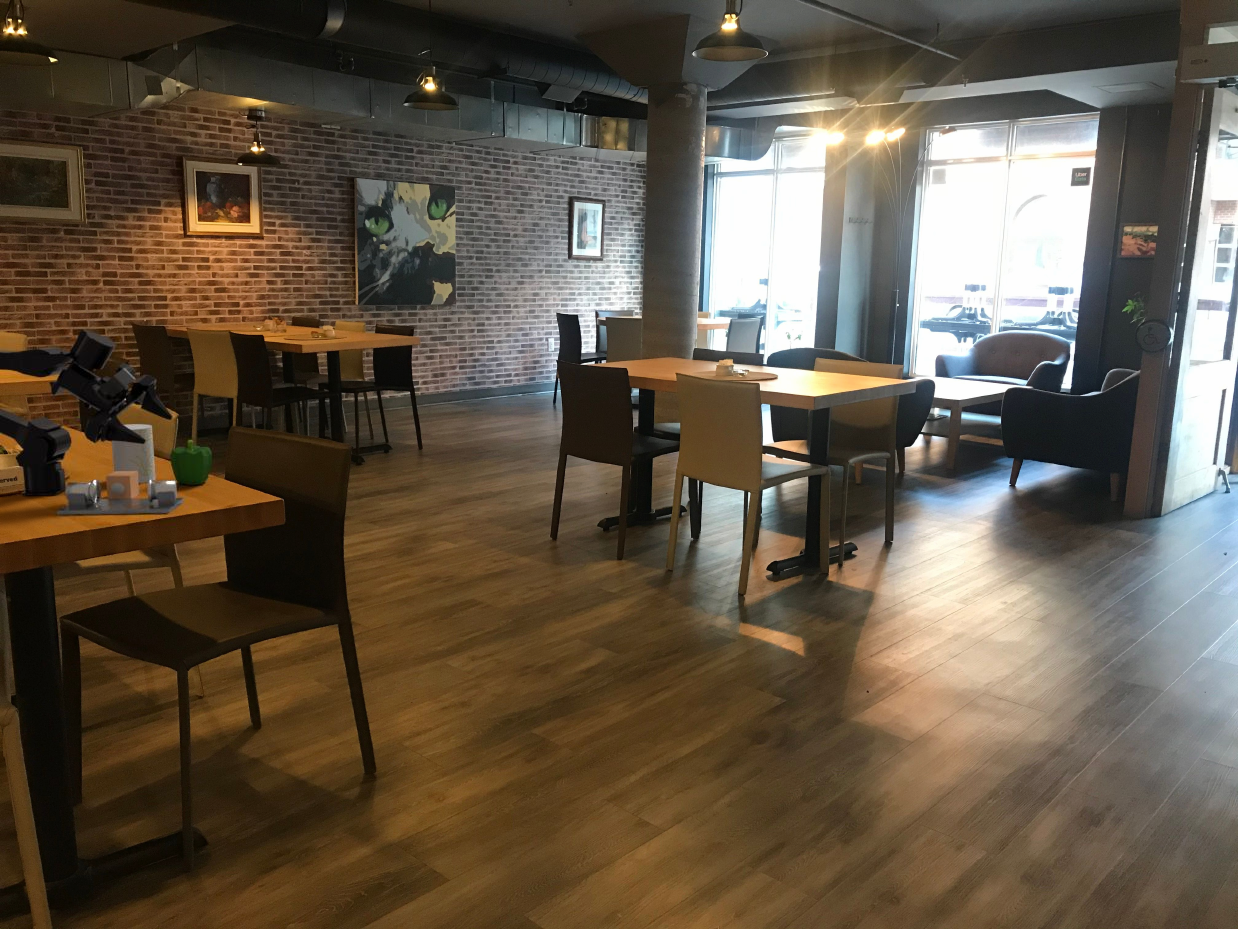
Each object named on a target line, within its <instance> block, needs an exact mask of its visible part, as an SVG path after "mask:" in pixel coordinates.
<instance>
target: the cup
mask: <svg viewBox="0 0 1238 929" xmlns="http://www.w3.org/2000/svg"><path fill="white" fill-rule="evenodd" d="M123 425H124V426H126V427H127V428H129V429H131V430H132V431H134V432H135V433H137V434H139V435H140V436H141V437H143V438H144V439H145V440H146V442H145V443H144V444H138V443H131V442H123V441H111V450H112V464H113V466H112V467H113V472H114V471H138V482H139V483H140V484H146V483H145V482H147V483H148V479H152V481H153V480H154V481H156V470H155V469H156V468H155V467H156V466H155V451H154V440H153V436H154V435H153V426H152V425H151V424H143V423H142V424H141V423H138V424H137V423H134V424H133V423H132V424H129V423H128V424H123Z"/></svg>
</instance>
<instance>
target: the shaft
mask: <svg viewBox="0 0 1238 929" xmlns="http://www.w3.org/2000/svg"><path fill="white" fill-rule="evenodd" d="M146 484H147V488H146V489H147V498H148V500H149V502H153V500H158V506H161V505H175V503H176V498H178V489H177V488H178V487H177V481H176V479H175V480H154V481H152V479H148V482H147V483H146Z"/></svg>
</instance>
